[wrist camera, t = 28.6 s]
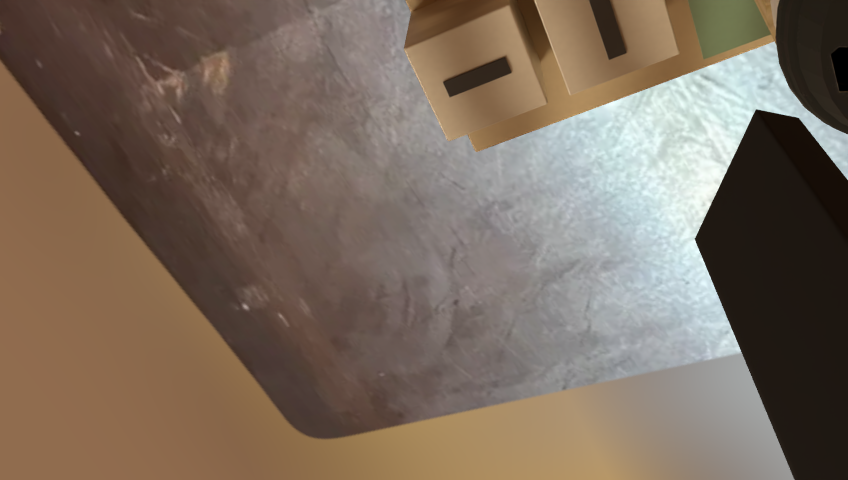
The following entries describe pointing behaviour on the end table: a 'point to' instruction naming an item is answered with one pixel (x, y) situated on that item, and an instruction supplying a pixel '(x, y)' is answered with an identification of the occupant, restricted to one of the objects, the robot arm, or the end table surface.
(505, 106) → the word board
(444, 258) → the end table surface
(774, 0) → the coffee cup
